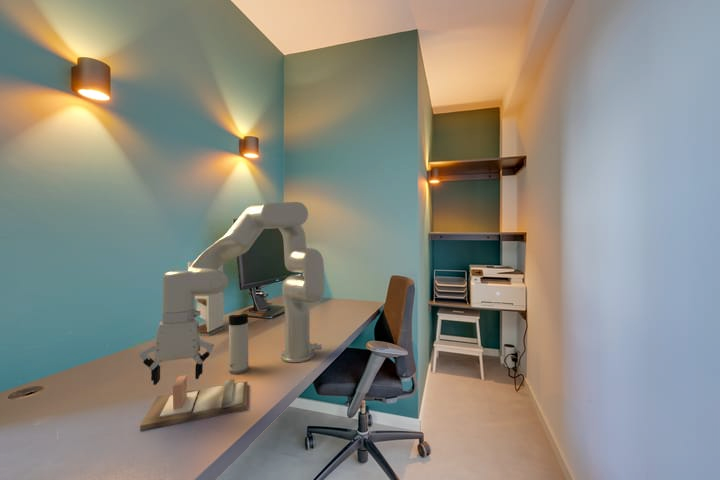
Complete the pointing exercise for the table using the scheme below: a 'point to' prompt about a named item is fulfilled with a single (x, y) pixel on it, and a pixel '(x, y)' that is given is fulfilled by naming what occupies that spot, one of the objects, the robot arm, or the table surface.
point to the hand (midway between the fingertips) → (177, 379)
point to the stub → (179, 399)
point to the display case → (210, 311)
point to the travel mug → (238, 343)
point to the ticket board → (201, 405)
